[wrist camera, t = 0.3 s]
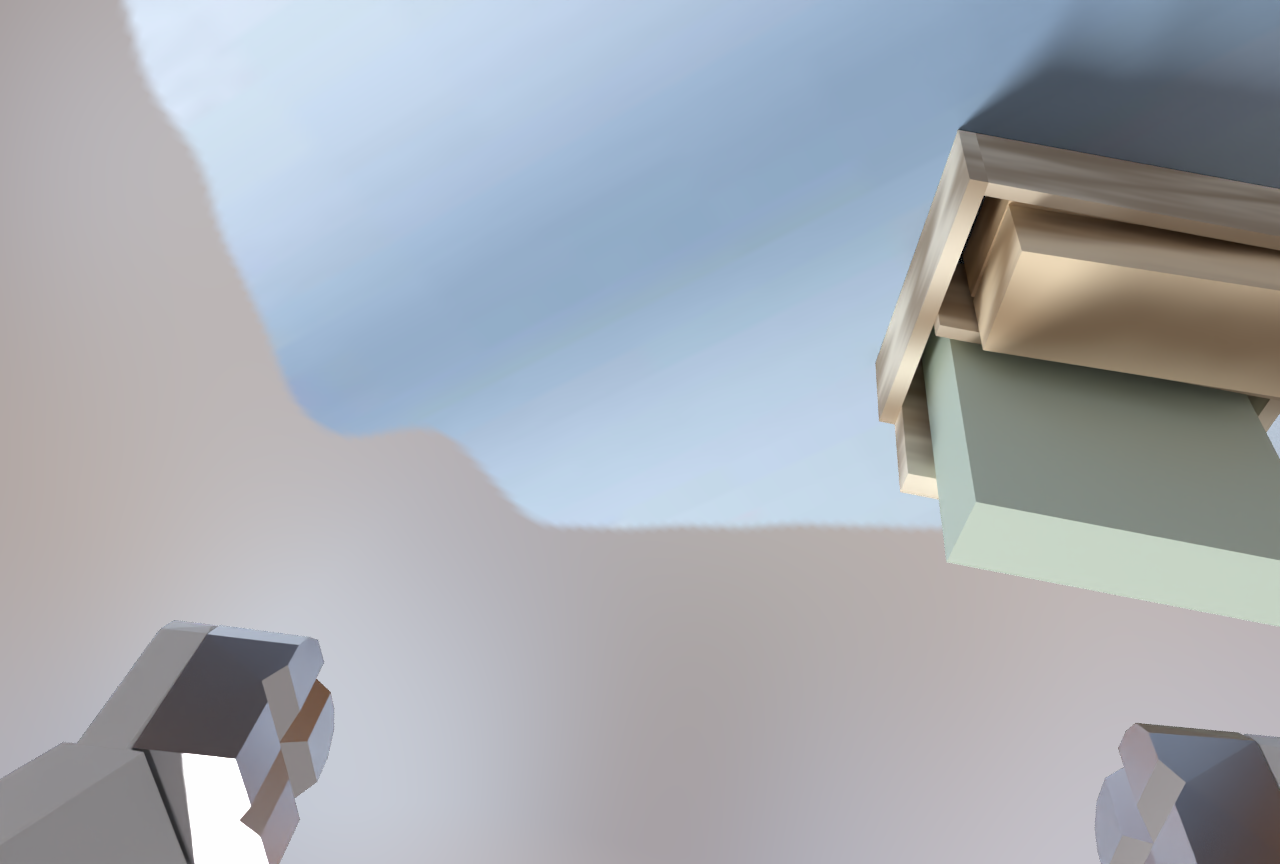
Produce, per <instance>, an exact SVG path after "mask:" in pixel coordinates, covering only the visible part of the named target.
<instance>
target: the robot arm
mask: <svg viewBox="0 0 1280 864" xmlns="http://www.w3.org/2000/svg"><path fill="white" fill-rule="evenodd" d="M323 664H324V660H323V656H322V653H321V649H320V645H319V642H318V640H317V639H313V638H310V637H305V636H298V635H290V634H283V633H274V632H267V631H259V630H252V629H245V628H237V627H230V626H221V625H219V626H218V625H210V624H202V623H194V622H185V621H178V620H174V621H172V622H171V623H169V624H167V625H166V626H164V627H163V628H161V629H160V630H159V631H158V632H157V633H156V635H155V636H154V638H153V639H152V641H151V642H150V643H149V644H148V646H147V647H146V649H145V650H144V652H143V653H142V654H141V656H140V657H139V658H138V660H137V661H136V662H135V664H134V665H133V667H132V668H131V669H130V671H129V672H128V674H127V675H126V676H125V678H124V679H123V681H122V682H121V683H120V684H119V686H118V687H117V689H116V690H115V691H114V693H113V695H111V697H110V698H109V700H108V701H107V703H106V704H105V705H104V707H103V708H102V709H101V711H100V712H99V713H98V715H97V716H96V718H95V719H94V720H93V722H92V723H91V724H90V726H89V727H88V729H87V730H86V731H85V733H84V734H83V736H82V737H81V738H80V740H79V741H78V742H77V743H66V742H62V743H60V744H59V745H57V746H55V747H54V748H52V749H50V750H48V751H47V752H45V753H43V754H42V755H40V756H38V757H36V758H35V759H34V760H31V761H30V762H28V763H26V764H25V765H23V766H21V767H20V768H18V769H16V770H14V771H13V772H11V773H9V774H8V775H6V776H4V777H3V778H1V779H0V864H279V863H280V861H281V859H282V857H283V855H284V852H285V850H286V848H287V846H288V844H289V842H290V840H291V837H292V835H293V833H294V831H295V829H296V827H297V825H298V822H299V820H300V818H299V814H298V810H297V806H296V803H295V799H294V798H296V797H297V796H298V795H300V794H301V793H302V792H304V791H305V790H307V789H308V788H309V787H311V786H312V785H313V784H315V783H316V782H317V781H318V779H319V776H320V774H321V772H322V769H323V767H324V765H325V762H326V760H327V758H328V754H329V749H330V745H331V741H332V736H333V732H334V706H333V701H332V696H331V692H330V691H329V690H328V689H327V688H326V687H325V686H324V685H323V684H321V683H320V682H319V681H318V680H317V679H316V678H317V676H318V674H319V672H320V670H321V668H322V666H323ZM1118 749H1119V752H1120V756H1121V758H1122V762H1123V765H1124V767H1123V768H1122V769H1120V770H1119V771H1116V772H1115V773H1113V774H1111V775H1110V776H1108V777H1106V778H1105V780H1104V783H1103V785H1102V788H1101V791H1100V793H1099V796H1098V799H1097V805H1096V818H1095V834H1096V842H1097V850H1098V854H1099V858H1100V862H1101V864H1280V737H1270V736H1261V735H1252V734H1244V735H1242V734H1240V733H1236V732H1226V731H1216V730H1215V731H1214V730H1205V729H1194V728H1183V727H1173V726H1162V725H1151V724H1141V723H1135V724H1134V725H1133V726H1131V727H1130V728H1129V729H1128V730H1126V732H1125V734H1124V737H1123V739H1122V741H1121V743H1120V745H1119V747H1118Z"/></svg>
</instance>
